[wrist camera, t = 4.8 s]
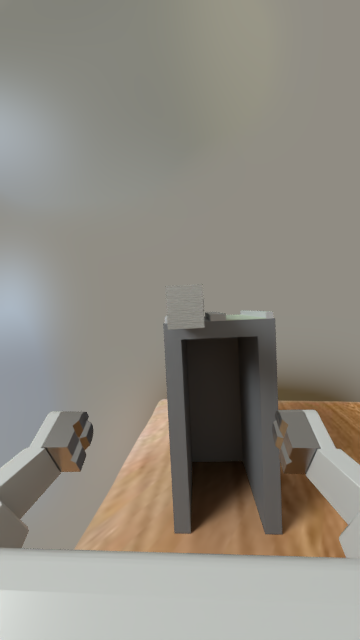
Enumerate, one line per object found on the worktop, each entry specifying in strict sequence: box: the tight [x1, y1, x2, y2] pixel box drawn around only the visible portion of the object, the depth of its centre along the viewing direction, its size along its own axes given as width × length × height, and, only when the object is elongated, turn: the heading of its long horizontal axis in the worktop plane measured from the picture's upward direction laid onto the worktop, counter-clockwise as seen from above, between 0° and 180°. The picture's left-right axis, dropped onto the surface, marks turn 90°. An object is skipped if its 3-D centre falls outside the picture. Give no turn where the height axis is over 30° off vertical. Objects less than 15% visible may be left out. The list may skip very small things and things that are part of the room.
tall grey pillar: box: [163, 310, 282, 534], centre depth 37 cm, size 16×13×27 cm
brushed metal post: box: [166, 284, 205, 329], centre depth 32 cm, size 24×4×4 cm, turn 177°
